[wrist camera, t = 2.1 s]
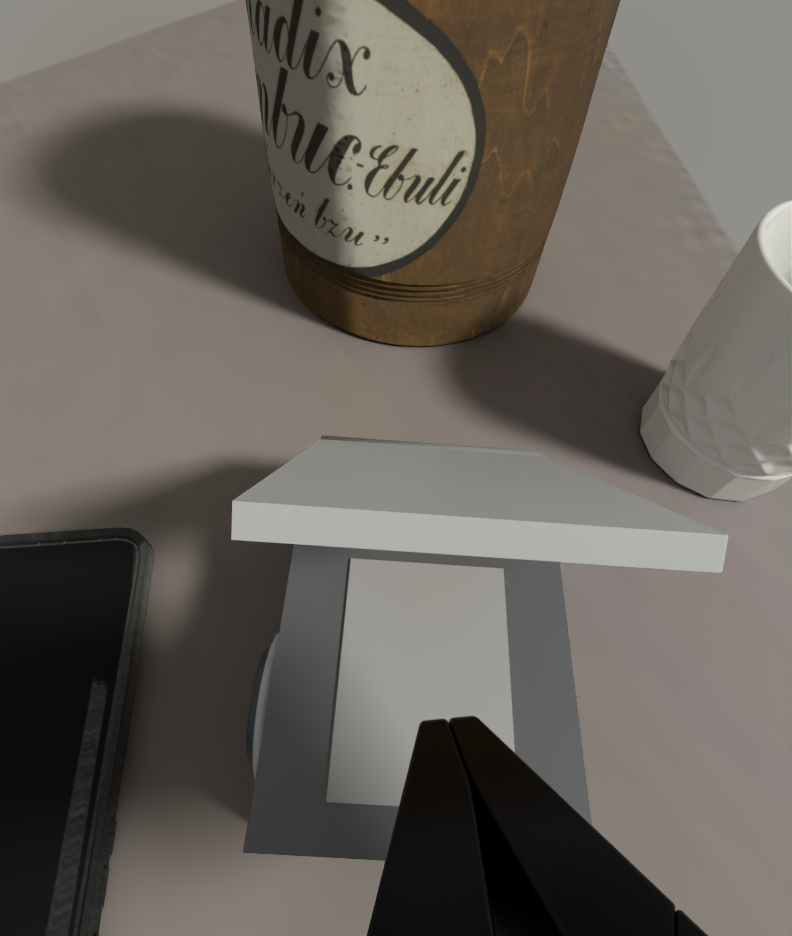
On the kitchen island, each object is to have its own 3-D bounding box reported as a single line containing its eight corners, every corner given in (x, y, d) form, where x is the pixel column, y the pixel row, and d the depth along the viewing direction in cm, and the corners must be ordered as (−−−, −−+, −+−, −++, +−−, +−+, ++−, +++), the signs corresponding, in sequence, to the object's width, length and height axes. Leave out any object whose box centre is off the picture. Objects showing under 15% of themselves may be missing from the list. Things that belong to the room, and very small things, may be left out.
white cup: (750, 549, 22) (991, 403, 14) (595, 439, 25) (717, 259, 16) (816, 444, 25) (1046, 272, 17) (673, 356, 28) (809, 170, 19)
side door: (720, 579, 8) (729, 528, 8) (230, 546, 8) (232, 494, 8) (535, 472, 18) (537, 449, 18) (322, 457, 18) (323, 434, 18)
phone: (-286, 1133, 12) (-61, 539, 20) (-238, 1106, 13) (-41, 550, 21) (69, 1075, 13) (154, 525, 20) (89, 1054, 14) (163, 536, 21)
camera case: (542, 850, 16) (599, 873, 12) (252, 834, 16) (216, 851, 12) (516, 531, 22) (550, 476, 18) (303, 516, 22) (289, 458, 18)
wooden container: (236, 242, 31) (42, -580, 12) (420, 165, 37) (479, -484, 18) (393, 394, 26) (474, -668, 7) (582, 277, 31) (914, -491, 12)
